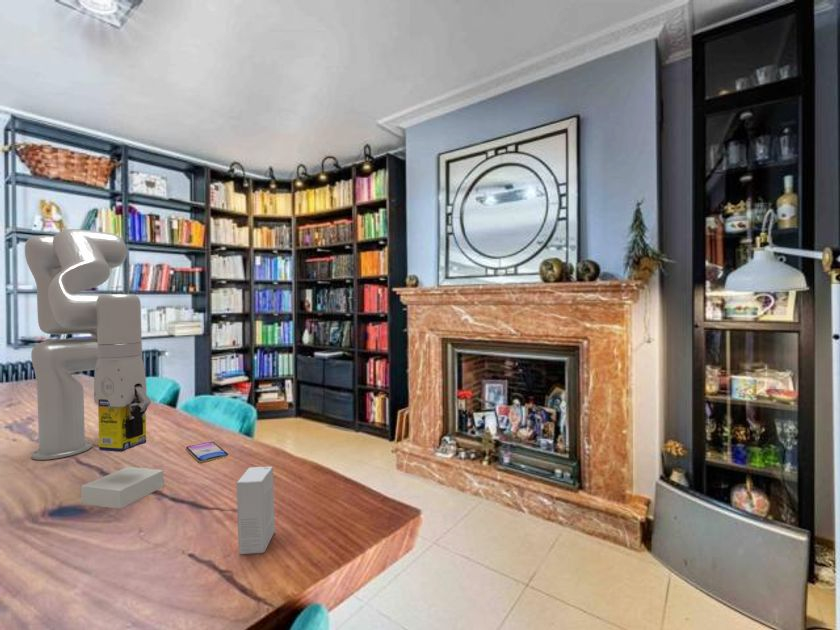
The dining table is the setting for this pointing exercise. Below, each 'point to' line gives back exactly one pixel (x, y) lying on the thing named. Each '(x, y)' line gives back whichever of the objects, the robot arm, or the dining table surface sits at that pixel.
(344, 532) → the dining table surface
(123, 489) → the white square block
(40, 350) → the robot arm
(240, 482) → the skincare box
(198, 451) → the smartphone
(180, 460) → the dining table surface
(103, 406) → the supplement box
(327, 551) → the dining table surface
